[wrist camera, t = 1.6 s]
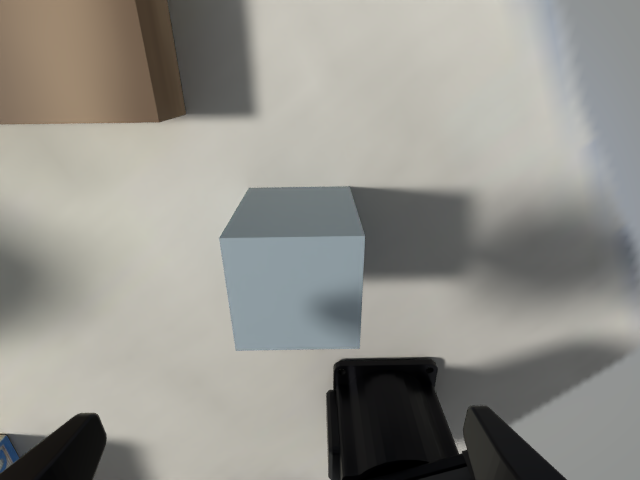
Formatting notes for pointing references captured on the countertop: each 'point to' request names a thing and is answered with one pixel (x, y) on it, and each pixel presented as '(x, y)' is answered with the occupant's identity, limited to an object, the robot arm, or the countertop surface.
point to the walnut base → (87, 62)
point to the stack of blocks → (6, 453)
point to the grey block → (295, 269)
